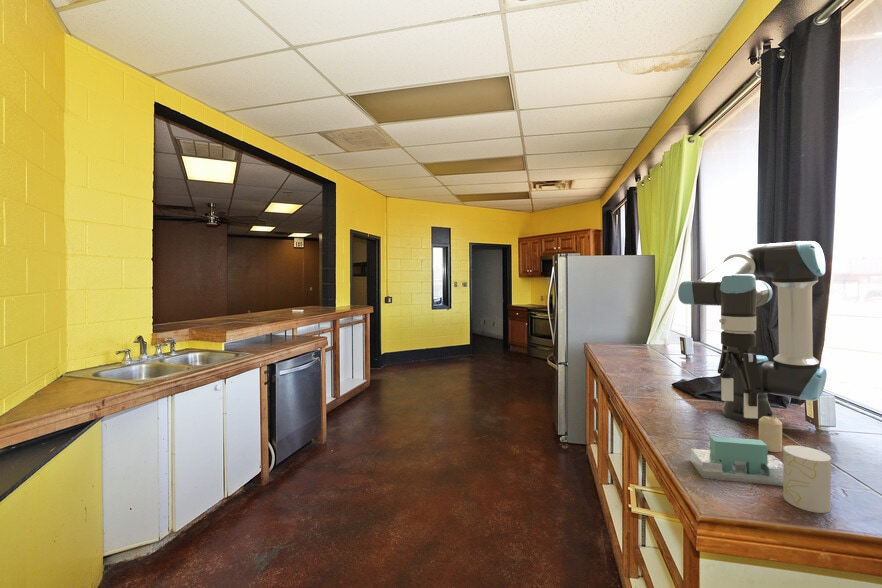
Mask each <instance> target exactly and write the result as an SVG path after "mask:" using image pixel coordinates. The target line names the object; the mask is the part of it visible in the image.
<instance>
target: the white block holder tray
mask: <svg viewBox="0 0 882 588" xmlns="http://www.w3.org/2000/svg"><path fill="white" fill-rule="evenodd" d="M689 460H690V463H691V464H692V465H693V466H694V468H695V470H697V472H698V473H699V475H700V476H701V477H702V478H703V479H711V480H719V481H720V480H721V481H728V482H729V481H730V482H739V483H750V484H760V485H769V486H778V487H779V486H780V487H783V462H782V461H781V460H780V459H779V458H778V457H776V456H775V455H772V454H768V464H762V463H761V474H751V473H749V472H748V471H747V470H746V462H740V461H732V472H731V471H722V463H721V462H720V461H719V460H717V459H714V457H713V456H712V455H711V454H710V449H701V448H700V449H698V448H690V454H689Z"/></svg>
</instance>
